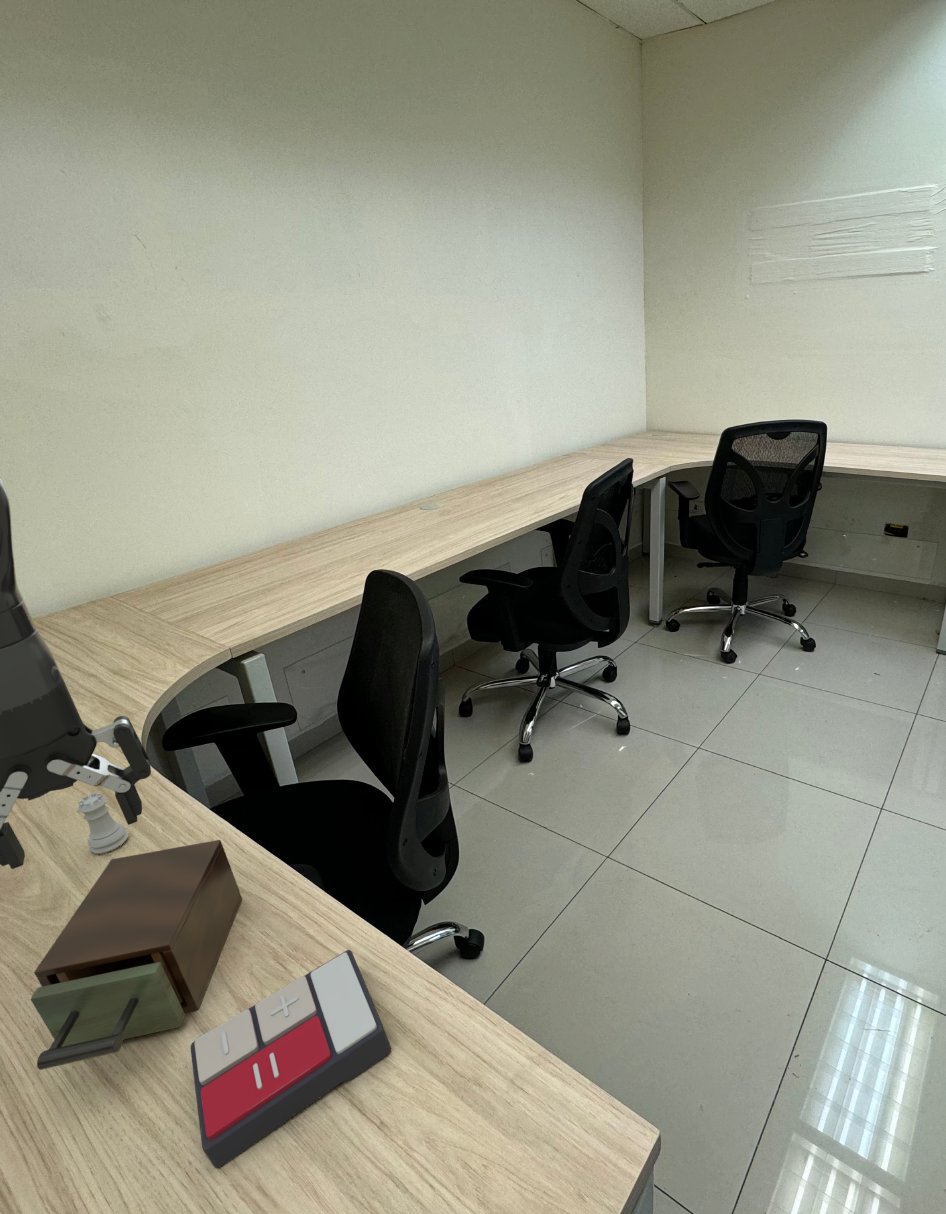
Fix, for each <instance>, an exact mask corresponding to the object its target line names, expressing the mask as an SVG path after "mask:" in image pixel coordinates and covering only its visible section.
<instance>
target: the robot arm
mask: <svg viewBox="0 0 946 1214" xmlns="http://www.w3.org/2000/svg"><path fill="white" fill-rule="evenodd" d="M8 494H9V493H8V491H7V488H6V486H5V483H4V482H3V479H2V478H1V477H0V866H1V867H5V866H8V865H9V867H10V869H12V870H14V869H17V868H19V867H22V866H24V864H25V859H26V858H25V857H26V853H25V850H24V848H23V846H22V843H21V842H20V841H19V839H18V837H17V835H16V833H15V832H14V829H13V827H12V826H11V823H10V822H9V821H7V822H6V820H7V818H8V817H9V815H10V813H11V811H12V809H13V807H14V805H15V803H16V801H17V799H18V800H26V799H27V800H28V801H32V800H36V799H38V798H41V797H43V796H45V795H47V794H49V793H51V792H54V791H61V790H64V789H65V790H66V789H68V788H70V787H74V784H75V783H76V782H78V781H79V782H82V783H84V784H87V785H90V786H92V787H102V788H105V789H107V790H111V791H113V792H114V797H115V799H116V801H117V803H118V805H119V808H120V810H121V812H122V815H123V818H124V819H125V822H126V824H127V825H128V826H129V825H133V824H136V823H138V816H141V815H142V814H143V813H142V812H143V802H142V799H141V797H140V794H139V793H138V790H137V788H136V784H137V783H138V782H139V781H141V780H145V779H147V778H149V777H150V776H151V774H152V768H151V760H150V757H149V755H148V754H147V751H146V749H145V747H144V745H143V744H142V742H141V739H140V737H139V735H138V734H137V732H136V730H135V728H134V726H133V724H132V722H131V720H130V718H129V717H128V716H126V715H119V716H117V717H115V718H114V720H113V722H112V723H110V724H108V725H105V726H102V727H98V728H96V729H92V728H90V727H88V726H87V725H85V723H84V721H83V720H82V718H81V716H80V713H79V711H78V709H77V707H76V703H75V702H74V700H73V698H72V695H71V693H70V691H69V688H68V686H67V684H66V682H65V680H64V677H63V675H62V672H61V671H60V668H59V666H58V664H57V662H56V659H55V657H54V655H53V653H52V651H51V649H50V648H49V646H48V645H47V642H46V641H45V640H44V639H43V637H42V635H41V634H40V633H39V631H38V629H37V627H36V624H35V622H34V620H33V617H32V615H31V613H30V611H29V608H28V606H27V604H26V602H25V600H24V597H23V595H22V594H21V591H20V590H19V587H18V582H17V576H16V565H15V564H16V563H15V554H14V545H13V544H14V543H13V529H12V528H13V525H12V511H11V503H10V497H9V495H8ZM99 743H105V744H107V745H108V747H111V748H120V750H121V751H122V753H123V755H124V757H125V759H126V761H127V763H128V764H129V765H128V766H127V767H122V766H119V765H117V764H114V763H112V762H110V761H109V760H108V759H107V758H104V757H103V756H100V755H98V754H95V753H94V752H95V750H96V748H97V746H98V745H97V744H99Z"/></svg>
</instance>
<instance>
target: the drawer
mask: <svg viewBox="0 0 946 1214" xmlns="http://www.w3.org/2000/svg"><path fill="white" fill-rule="evenodd" d="M56 976H57V977H58V979H59V981H60V983H57V984H52V985H48V986H43V987H42V986H39V987H37V988H36V990H35V991H34V992H33V994H32V996H31V997H30V1001H31V1003H32V1005H33V1006H34V1008H35V1009H36V1012H37V1013H38V1015H39V1017H40V1018H41V1020H42V1021H43V1023H44V1024H45V1027H46V1028H47V1029H48V1031H49V1034H50V1035H51V1037H52V1038H53V1042H52V1043H51V1045H50V1047H49V1049H46V1050H43V1051H42V1052H41V1053H40V1054H39V1055H38V1058H37V1060H36V1068H37V1069H38V1070H39V1071H43V1070H47V1069H51V1068H55V1067H59V1066H64V1065H68V1064H72V1063H76V1062H81V1061H85V1060H89V1059H94V1058H98V1057H103V1056H106V1055H111V1054H115V1053H118V1052H119V1051H120V1050H121V1048H122V1047H123V1046H122V1045H123V1040H128V1039H132V1038H137V1037H141V1036H145V1035H146V1036H147V1035H150V1034H153V1033H158V1032H163V1031H168V1030H171V1029H176V1028H180V1027H182V1024H183V1022H184V1019H185V1017H186V1013H184V1011H183V1009H182V1007H181V1005H180V1003H181V1002H182V1001H183V999H184V997H183V995H182V993H181V991H180V988H179V986H178V984H177V982H176V980H175V978H174V975H173V973H172V971H171V969H170V967H169V965H168V962H167V960H166V958H165V956H164V954H163V952H159V953H154V954H149V955H144V956H140V957H135V958H130V959H125V960H120V961H116V962H111V963H106V964H101V965H96V966H92V967H87V968H82V969H77V970H72V971H67V972H63V973H58V974H56Z"/></svg>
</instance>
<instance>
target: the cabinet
mask: <svg viewBox="0 0 946 1214" xmlns="http://www.w3.org/2000/svg"><path fill="white" fill-rule="evenodd" d="M242 901H243V897H242V895H241V892H240V888H239V886H238V883H237V881H236V878H235V875H234V873H233V870H232V866H231V864H230V862H229V858H228V856H227V853H226V851H225V848H224V846H223V843H222V841H221V839H216V840H211V841H205V842H199V843H194V844H188V845H184V846H177V847H171V848H167V849H161V850H156V851H149V852H144V853H139V854H133V855H128V856H127V855H126V856H122V857H117V858H111V859H110V861H109V862H108V864H107V865H106V867H105V868H104V870H103V871H102V873H101V874H100V875H99V877H98V878H97V880H96V881H95V883H94V884H93V885H92V886H91V888H90V889H89V891H88V893H87V894H86V896H85V897H84V898H83V900H82V901H81V903H80V904H79V906H78V907H77V909H76V910H75V912H74V913H73V915H72V916H71V917H70V919H69V921H67V924H66V925H65V926H64V928H63V929H62V931H61V932H60V933H59V935H58V937H57V938H56V939H55V941H54V942H53V944H52V945H51V947H50V948H49V949H48V951H47V952H46V954H45V956H44V957H43V958H42V960H41V961H40V962H39V964H38V965H37V967H36V969H35V970H34V972H33V973H34V975H35V977H36V978H37V981H38V982H39V984H40V987H43V986H48V985H52V984H57V983H60V981H59V979H58V977H57V976H56V974H58V973H63V972H67V971H72V970H77V969H82V968H87V967H92V966H96V965H101V964H106V963H111V962H116V961H120V960H125V959H130V958H135V957H140V956H144V955H149V954H154V953H159V952H163V954H164V956H165V958H166V960H167V962H168V965H169V967H170V969H171V971H172V973H173V975H174V978H175V980H176V982H177V984H178V986H179V988H180V991H181V993H182V995H183V997H184V999H183V1001H182V1002H181V1003H180V1005H181V1007H182V1009H183V1011H184V1013H185V1014H187V1013H190V1012H195V1011H196V1012H197V1011H198V1010H199V1009H200V1007H201V1005H202V1001H203V999H204V997H205V994H206V991H207V989H208V988H209V987H208V986H209V984H210V982H211V979H212V977H213V974H214V971H215V969H216V967H217V964H218V962H219V959H220V957H221V954H222V952H223V949H224V946H225V945H226V944H225V943H226V941H227V938H228V937H229V934H230V931H231V928H232V926H233V923H234V920H235V919H236V916H237V913H238V911H239V908H240V906H241V904H242Z"/></svg>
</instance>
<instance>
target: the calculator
mask: <svg viewBox="0 0 946 1214" xmlns="http://www.w3.org/2000/svg"><path fill="white" fill-rule="evenodd" d="M390 1043H391V1042H390V1041H389V1038H388V1035H387V1033H386V1030H385V1027H384V1025H383V1022H382V1020H381V1018H380V1016H379V1013H378V1010H377V1008H376V1006H375V1003H374V1001H373V999H372V996H371V994H370V992H369V989H368V987H367V984H366V981H365V980H364V977H363V975H362V972H361V970H360V968H359V965H358V963H357V960H356V958H355V956H354V953H353V951H352V950H350V949H347V950H344V951H343V952H341V953H340V954H338V955H337V956H334V957H333V958H331V959H330V960H328V961H326V962H325V963H323V964H321V965H319V966H318V967H316V968H315V969H313V970H311V971H309V972H308V973H306V974H305V975H302V976H300V977H298V978H297V979H295V980H293V981H292V982H290V983H288V984H286V985H285V986H283V987H282V988H279V989H278V990H276V991H275V992H273V993H271V994H270V995H268V996H266V997H264V998H263V999H261V1000H260V1001H258V1002H257V1003H256V1004H254V1005H252V1006H251V1007H249V1008H247V1009H245V1010H242V1011H241V1012H240V1013H238V1014H236V1015H235V1016H233V1017H231V1018H228V1020H226V1021H224V1022H222V1023H221V1024H219V1025H218V1026H215V1027H214V1028H213V1029H211V1030H209V1031H207V1032H205V1033H204V1034H202V1035H201V1036H199V1037H197V1038H196V1039H195V1040H194V1041H193V1042H192V1043H191V1044H190V1055H191V1062H192V1063H191V1065H192V1072H193V1073H192V1074H193V1081H194V1089H195V1097H196V1098H195V1099H196V1105H197V1115H198V1123H199V1132H200V1141H201V1147H202V1150H203V1152H204V1154H205V1155H206V1157H207V1159H208V1160H209V1161H210V1163H211V1164H212V1166H213V1167H214V1168H215V1169H219V1168H221V1167H223V1166H224V1165H226V1164H227V1163H228V1162H230V1161H231V1160H233V1159H234V1158H236V1157H237V1156H239V1155H240V1154H241V1153H243V1152H244V1151H246V1150H247V1149H249V1148H250V1147H251V1146H253V1145H254V1144H256V1143H257V1142H259V1141H260V1140H261V1139H263V1138H264V1137H266V1136H267V1135H268V1134H270V1133H271V1132H273V1131H274V1130H276V1129H277V1128H279V1127H280V1126H281V1125H283V1124H284V1123H285V1122H287V1121H288V1120H290V1119H291V1118H293V1117H294V1116H296V1115H297V1114H299V1113H300V1112H301V1111H303V1110H304V1109H306V1108H307V1107H309V1106H310V1105H311V1104H313V1103H314V1102H316V1101H317V1100H318V1099H320V1098H321V1097H323V1096H324V1095H325V1094H328V1092H330V1091H332V1090H333V1089H334V1088H336V1087H338V1086H339V1085H340V1084H342V1083H345V1082H347V1081H350V1080H354V1079H355V1078H357V1077H358V1076H360V1075H361V1074H363V1073H364V1072H365V1071H367V1070H368V1069H370V1068H372V1066H374V1065H376V1064H377V1063H378V1062H380V1061H381V1060H382V1059H384V1058H385V1057H386V1056H388V1055H389V1054H390V1053H391V1051H392V1046H391V1044H390Z"/></svg>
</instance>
